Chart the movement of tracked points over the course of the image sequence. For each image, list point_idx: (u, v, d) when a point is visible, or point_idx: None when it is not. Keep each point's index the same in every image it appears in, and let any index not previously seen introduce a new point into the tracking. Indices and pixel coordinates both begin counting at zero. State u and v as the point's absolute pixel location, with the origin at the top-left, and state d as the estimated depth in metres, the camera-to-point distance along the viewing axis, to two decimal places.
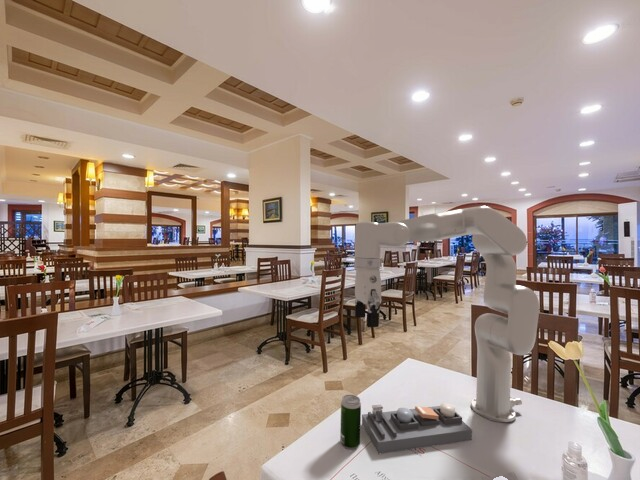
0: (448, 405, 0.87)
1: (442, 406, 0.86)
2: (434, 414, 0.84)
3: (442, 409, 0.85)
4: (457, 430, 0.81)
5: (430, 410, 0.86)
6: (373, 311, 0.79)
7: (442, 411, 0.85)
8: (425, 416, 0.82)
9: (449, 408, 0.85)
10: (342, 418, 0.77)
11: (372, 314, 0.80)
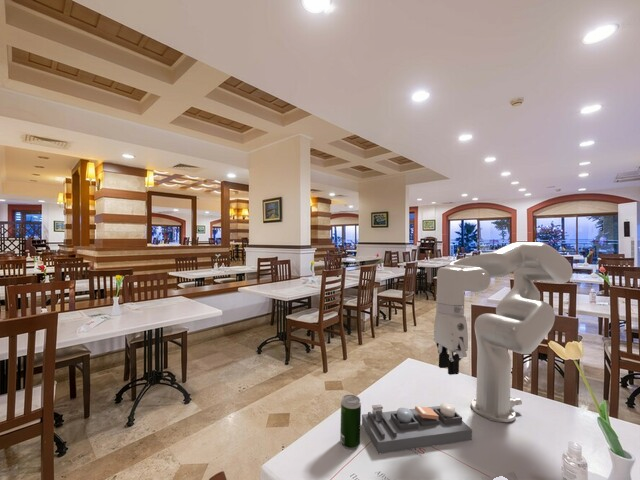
0: (448, 405, 0.87)
1: (442, 406, 0.86)
2: (434, 414, 0.84)
3: (442, 409, 0.85)
4: (457, 430, 0.81)
5: (430, 410, 0.86)
6: (456, 360, 0.82)
7: (442, 411, 0.85)
8: (425, 416, 0.82)
9: (449, 408, 0.85)
10: (342, 418, 0.77)
11: (454, 362, 0.83)
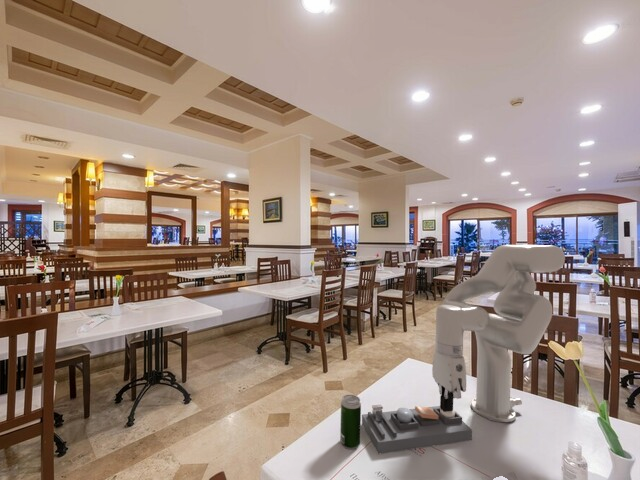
0: None
1: None
2: (434, 414, 0.84)
3: (442, 412, 0.85)
4: (457, 430, 0.81)
5: (430, 410, 0.86)
6: (450, 397, 0.84)
7: (442, 414, 0.85)
8: (425, 416, 0.82)
9: (449, 411, 0.85)
10: (342, 418, 0.77)
11: (448, 400, 0.84)
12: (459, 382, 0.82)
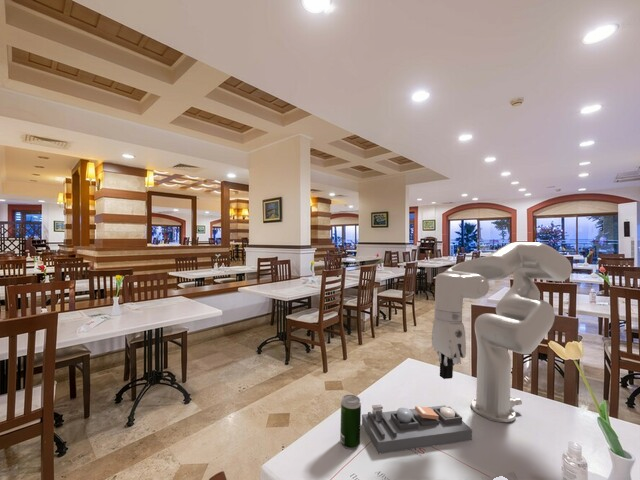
0: (448, 409, 0.87)
1: (442, 410, 0.86)
2: (434, 414, 0.84)
3: (442, 413, 0.85)
4: (457, 430, 0.81)
5: (430, 410, 0.86)
6: (450, 364, 0.84)
7: (442, 415, 0.85)
8: (425, 416, 0.82)
9: (449, 412, 0.85)
10: (342, 418, 0.77)
11: (448, 367, 0.84)
12: (458, 348, 0.82)
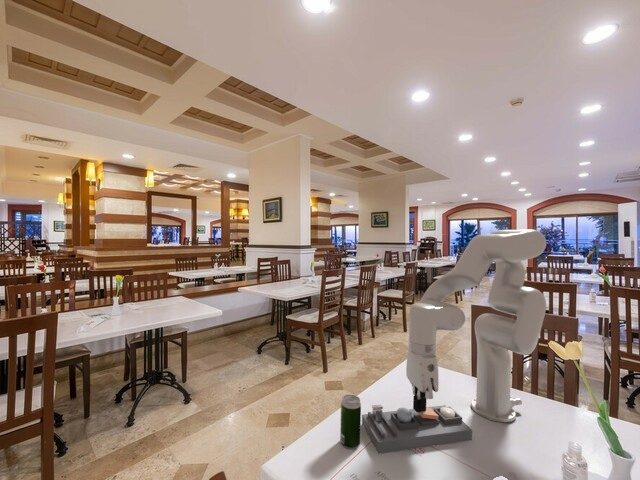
0: (448, 409, 0.87)
1: (442, 410, 0.86)
2: (434, 414, 0.84)
3: (442, 413, 0.85)
4: (457, 430, 0.81)
5: (430, 410, 0.86)
6: (422, 398, 0.82)
7: (442, 415, 0.85)
8: (425, 416, 0.82)
9: (449, 412, 0.85)
10: (342, 418, 0.77)
11: (421, 400, 0.83)
12: (431, 382, 0.80)
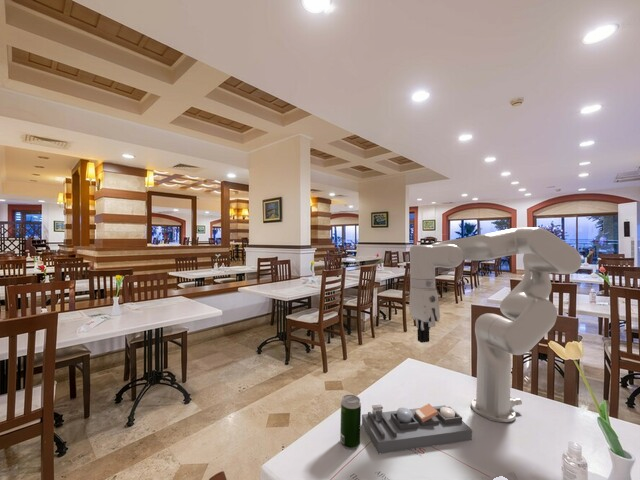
0: (448, 409, 0.87)
1: (442, 410, 0.86)
2: (433, 411, 0.83)
3: (442, 413, 0.85)
4: (457, 430, 0.81)
5: (429, 407, 0.85)
6: (426, 328, 0.90)
7: (442, 415, 0.85)
8: (425, 419, 0.82)
9: (449, 412, 0.85)
10: (342, 418, 0.77)
11: (425, 331, 0.91)
12: (433, 312, 0.88)
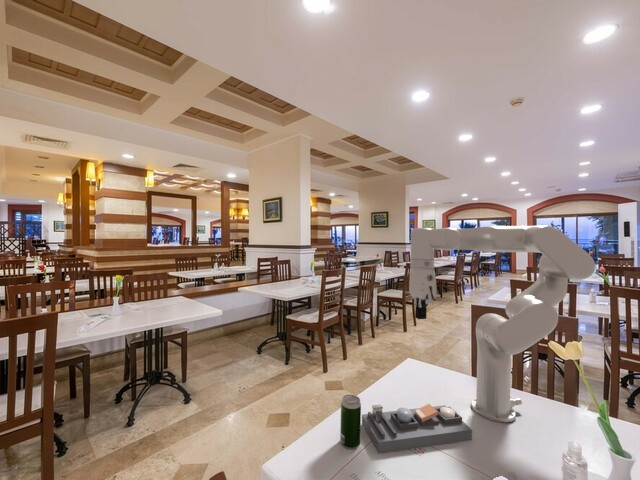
0: (448, 409, 0.87)
1: (442, 410, 0.86)
2: (433, 411, 0.83)
3: (442, 413, 0.85)
4: (457, 430, 0.81)
5: (429, 408, 0.85)
6: (423, 306, 0.96)
7: (442, 415, 0.85)
8: (425, 419, 0.82)
9: (449, 412, 0.85)
10: (342, 418, 0.77)
11: (422, 308, 0.97)
12: (430, 290, 0.94)
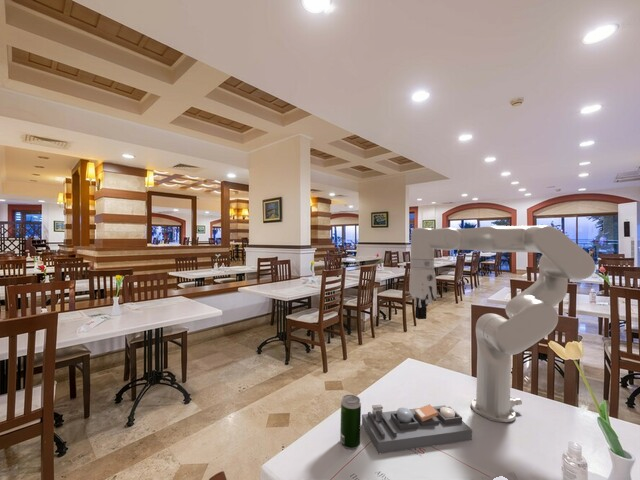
0: (448, 409, 0.87)
1: (442, 410, 0.86)
2: (433, 412, 0.84)
3: (442, 413, 0.85)
4: (457, 430, 0.81)
5: (429, 408, 0.85)
6: (423, 306, 0.96)
7: (442, 415, 0.85)
8: (425, 419, 0.82)
9: (449, 412, 0.85)
10: (342, 418, 0.77)
11: (422, 308, 0.97)
12: (430, 290, 0.94)
